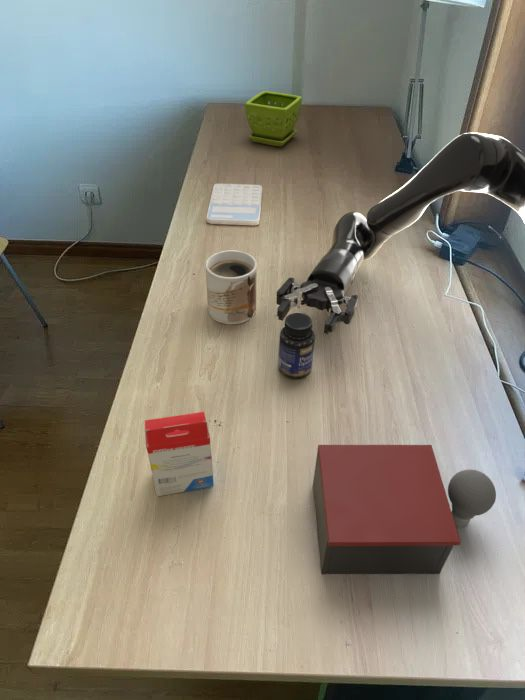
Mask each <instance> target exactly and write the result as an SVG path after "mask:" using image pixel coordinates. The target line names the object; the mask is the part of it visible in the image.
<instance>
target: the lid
mask: <svg viewBox="0 0 525 700" xmlns="http://www.w3.org/2000/svg"><path fill="white" fill-rule="evenodd" d="M317 451H318V455H319V464H320V473H321V482H322V491H323V500H324V510H325V519H326V528H327V537H328V546H453V547H454V546H460V544H461V539H460V536H459V532H458V529H457V526H456V525H455V522H454V519H453V515H452V508H451V505H450V502H449V498H448V494H447V492H446V489H445V486H444V482H443V479H442V476H441V472H440V469H439V466H438V462H437V459H436V456H435V452H434V448H433V446H432V444H318V445H317Z"/></svg>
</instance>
